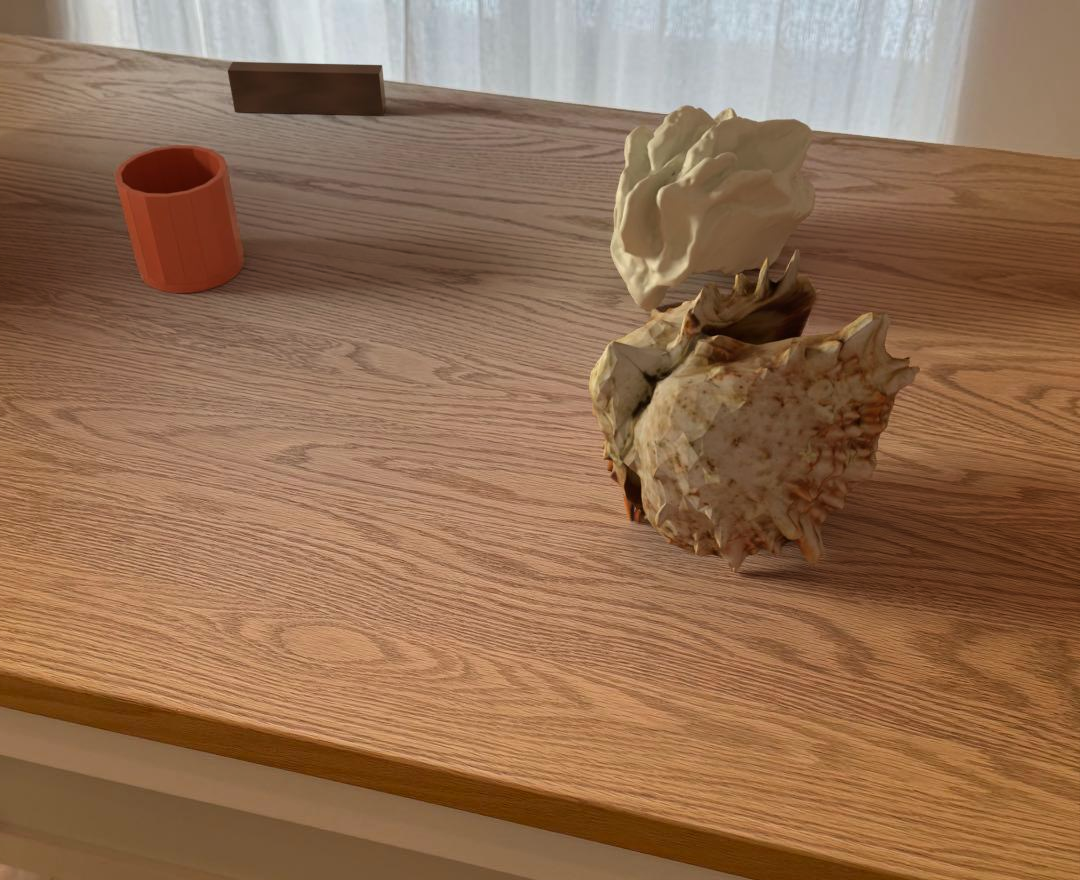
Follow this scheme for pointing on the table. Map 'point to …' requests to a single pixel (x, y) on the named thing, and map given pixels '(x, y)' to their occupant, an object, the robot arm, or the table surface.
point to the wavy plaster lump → (707, 198)
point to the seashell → (744, 416)
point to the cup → (181, 218)
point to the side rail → (307, 88)
